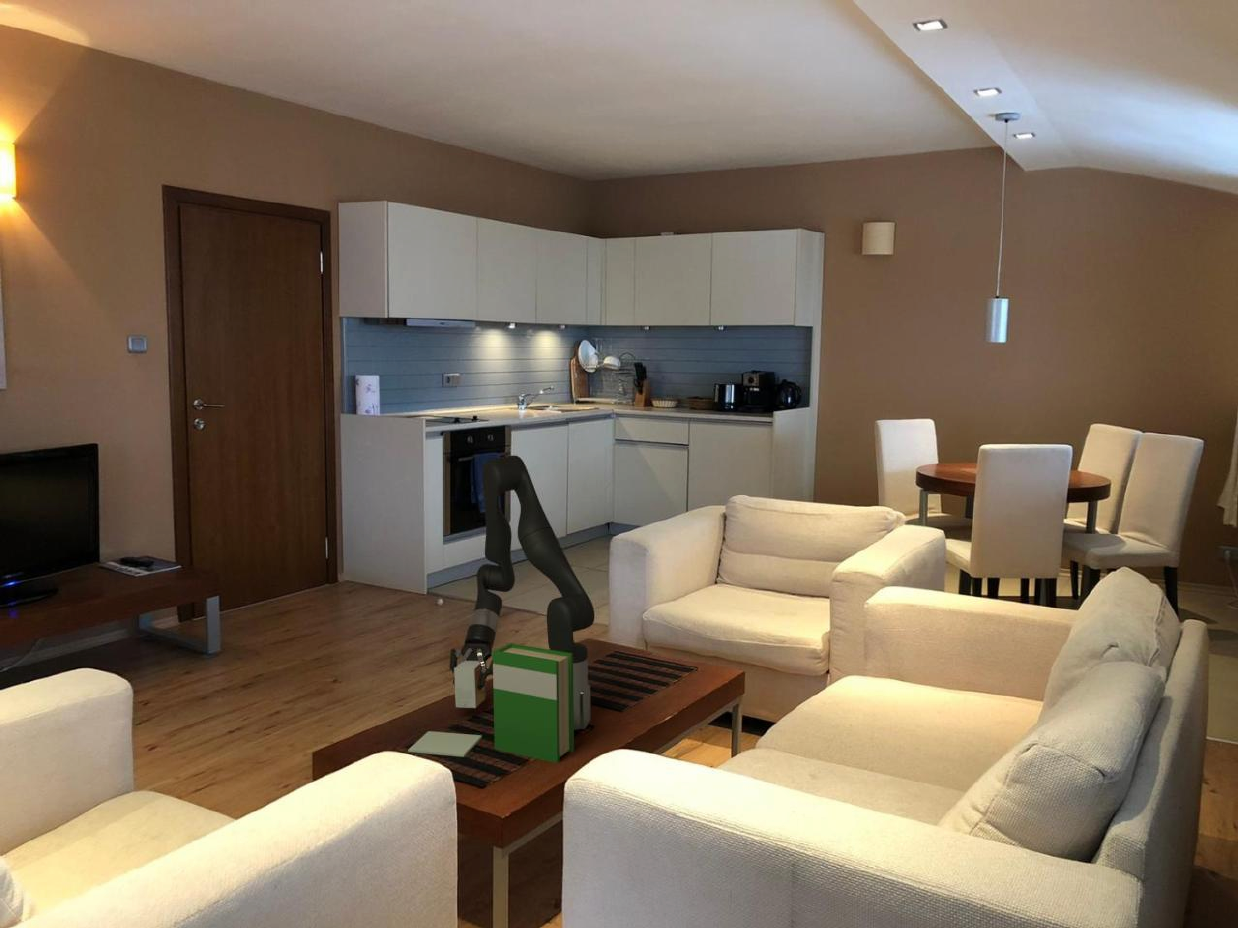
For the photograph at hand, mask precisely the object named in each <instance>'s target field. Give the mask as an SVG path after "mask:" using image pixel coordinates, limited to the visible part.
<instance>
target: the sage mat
mask: <svg viewBox="0 0 1238 928" xmlns="http://www.w3.org/2000/svg"><path fill="white" fill-rule="evenodd" d="M482 737H483V736H482V735H481V734H480V735H479V734H468V733H467V734H464V733H455V732H445V731H444V732H443V731H433V730H432V731H431V730H430V731H429V730H428V731H427V732H426V733H425V734H424V735H423V736H421V737H420V738H419V739H418V740H417V741H416V742H415V743H414V744H413V745H412V746H411V747H409V748H408V750H407V751H408V753H418V754H426V755H427V754H430V755H441V756H453V757H463V758H464V757H465V756H467V754H468V753H469V752H470V751H471V750H472V749H473V748H474V747H475V746H476V744H477V743H478V742H479V741H480V740H481V739H482Z"/></svg>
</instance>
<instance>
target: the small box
mask: <svg viewBox="0 0 1238 928" xmlns="http://www.w3.org/2000/svg"><path fill="white" fill-rule="evenodd" d="M459 663H460V662H459ZM459 663H458V664H457V667H455V668H454V673H453V674H454V675H453V679H454V678H455V686H454V698H455V700H454V701H455V708H459V709H460V708H461V709H463V708H465V709H476V708H478V706H479V705H481V703H482V702H483V701H485V700H486V685H485V686H484V688H482V690H479V689H478V688H477V683H478V679H479V675H480V673H481V663H479V661H465V662H462V663H460V664H459Z"/></svg>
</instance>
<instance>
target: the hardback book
mask: <svg viewBox="0 0 1238 928" xmlns="http://www.w3.org/2000/svg"><path fill="white" fill-rule="evenodd" d="M492 651H493V675H492V677H493V678H492V679H493V683H492V684H493V723H494V724H493V731H494V732H493V733H494V735H493V736H494V738H493V739H494V750H498V751H501V752H506V753H511V754H514V755H519V756H524V757H527V758H533V759H537V760H542V761H546V762H551V763H554V764H555V763H556V764H559V763H560V757H562V756H563V755H564V754H566V753H569V754H573V753H574V752H575V730H574V701H573V653H567V652H561V651H555V650H550V649H548V648H542V647H535V646H530V645H523V644H517V643H508V644H506V645H505V646H502V647H499V648H497V649H495V650H492Z"/></svg>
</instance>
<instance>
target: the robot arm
mask: <svg viewBox="0 0 1238 928" xmlns="http://www.w3.org/2000/svg"><path fill="white" fill-rule="evenodd" d="M481 472H482V473H481V482H482V483H481V484H482V495H483V503H484V504H483V506H484V515H485V542H484V556H485V558H486V559H487V560H488V561H490V562H492V563H494V564H490V563H484V564H482V565H481V566H479V568H478V569H477V572H476V586H477V587H476V588H477V594H476V602H475V604H474V605H475V606H474V609H473V613H472V615H471V618H470V621H469V625H468V627H467V628H468V629H467V632H466V634H465V635H466V636H465V639H464V645H463V646H462V647H461V649H456V648H451V649H450V654H449V655H450V657H449V666H448V668H449V669H450V671H451V673H452V674H454V668H455V667H457V666H458V665H459V664H460V663H462V662H465V661H479V663H481V673H480V675H479V679H478V683H477V688H478V689H479V690H482V688H484V686H485V687H486V682H487V678H488V677H489V676H490V675H491V676H493V651H494V650H493V647H494V643H495V639H496V635H497V632H498V628H499V627H498V626H499V619H500V614H501V611H502V607H503V600H502V598H501V596H500V595H498V594H496V593H494V592H491V591H495V592H500V593H507V592H510V591H511V590H512V589H513V588H514V586H515V582H516V576H515V571H514V567H513V562H512V556H511V550H512V549H511V548H512V536H513V535H512V528H511V526H510V523H509V522H508V519H507V518H506V516H505V515H504V513H503V511H502V508H501V506H500V498H501V493H506V492H511V491H514V492H515V494H516V496H517V499H518V502H519V506H520V512H519V513H520V514H519V519H518V524H517V539H518V542H519V545H520V546H521V549H522V550H523V552H524V555H525V557H526V559H527V560H528V562H529V563H530V564H531V565H532V566H533V567H534V568H535V569H536V570H538V571H539V572H540V573H541V574H542V575H544V576H545V577H546V578H548V579H549V580H550V581H551V582H552V583H553V584H554V586H556V589H557V590H558V591H559V593H560V595H561V596H560V597H556V598H553V599H552V600H551V601H550V602H549V603H548V604H547V605H548V606H547V608H546V628H547V629H546V630H547V644H548V648H549V650H555V651H561V652H567V653H573V701H574V731H575V730H576V731H577V730H585V729H586V728H587V727H588V725H589V724H590V722H591V685H590V684H589V683H588V682H589V680H588V678H589V673H588V671H589V663H588V662H589V660H588V659H589V657H588V655H589V654H588V652H589V651H588V647H587V646H586V645H584V644H583V643H579V642H575V639H574V633H575V632H579V631H582V630H586V629H588V628H590V627H592V625H593V624H594V622H595V610H594V607H593V603H592V601H591V599H590V597H589V595H588V594H587V592H586V590H585V589H584V587H583V586H582V585H583V584H581V581H580V580H579V579H578V577H577V576H576V573H575V572H574V570H573V569H572V566H571V565H570V563H569V561H568V559H567V557H566V555H565V553H564V551H563V549H562V546H561V544H560V542H559V540H558V538H557V535H556V534H555V531H554V529H553V527H552V525H551V523H550V521H549V519H548V518H547V515H546V513H545V510H544V509H543V506H542V504H541V502H540V500H539V499H540V498H539V497H538V494H537V492H536V489H535V487H534V484H533V481H532V478H531V475H530V472H529V470H528V468H527V466H526V464H525V462H524V460H523V459H522V458H521V457H520V456H518V455H507V456H502V457H495V458H491V459H488V460H486V461H485V462H484V463H483V467H482V471H481ZM461 655H462V657H461V659H460V656H461ZM490 658H491V659H492V660H491V662H490V664H489V666H487V661H488V660H489V659H490ZM459 659H460V660H459ZM458 660H459V663H458ZM452 684H453V686H454V687H455V678H454V677H453V679H452Z"/></svg>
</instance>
